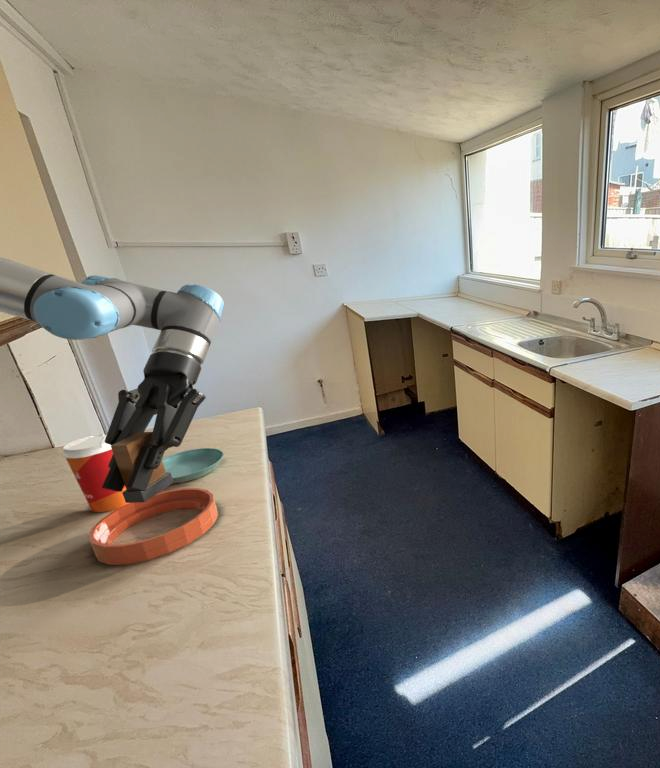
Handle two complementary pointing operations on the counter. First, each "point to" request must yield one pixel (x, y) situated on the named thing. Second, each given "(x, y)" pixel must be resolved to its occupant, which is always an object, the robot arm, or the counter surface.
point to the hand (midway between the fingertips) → (124, 489)
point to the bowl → (137, 512)
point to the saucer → (192, 463)
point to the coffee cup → (93, 472)
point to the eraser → (126, 461)
